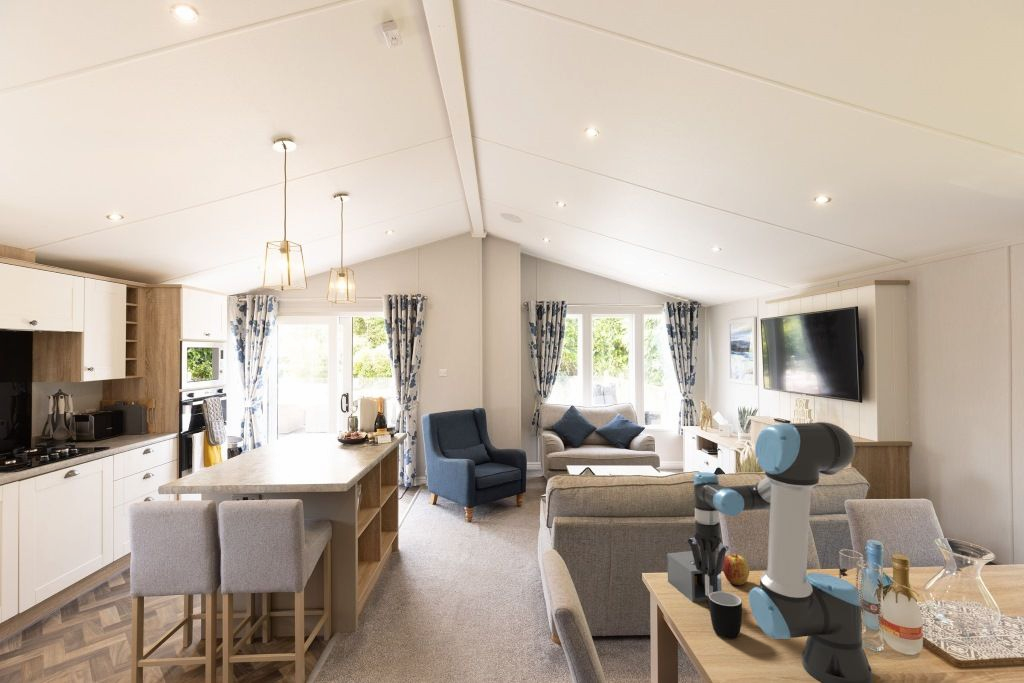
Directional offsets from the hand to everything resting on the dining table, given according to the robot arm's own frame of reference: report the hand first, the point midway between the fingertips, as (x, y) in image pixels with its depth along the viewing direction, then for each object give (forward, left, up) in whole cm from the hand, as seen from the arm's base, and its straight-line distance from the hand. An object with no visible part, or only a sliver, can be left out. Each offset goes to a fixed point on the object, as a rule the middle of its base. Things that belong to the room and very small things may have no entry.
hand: (709, 594), depth 163 cm
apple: (+13, -19, -4) cm, 24 cm away
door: (-1, -4, -3) cm, 5 cm away
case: (+12, -1, -4) cm, 13 cm away
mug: (-14, +5, -4) cm, 15 cm away
